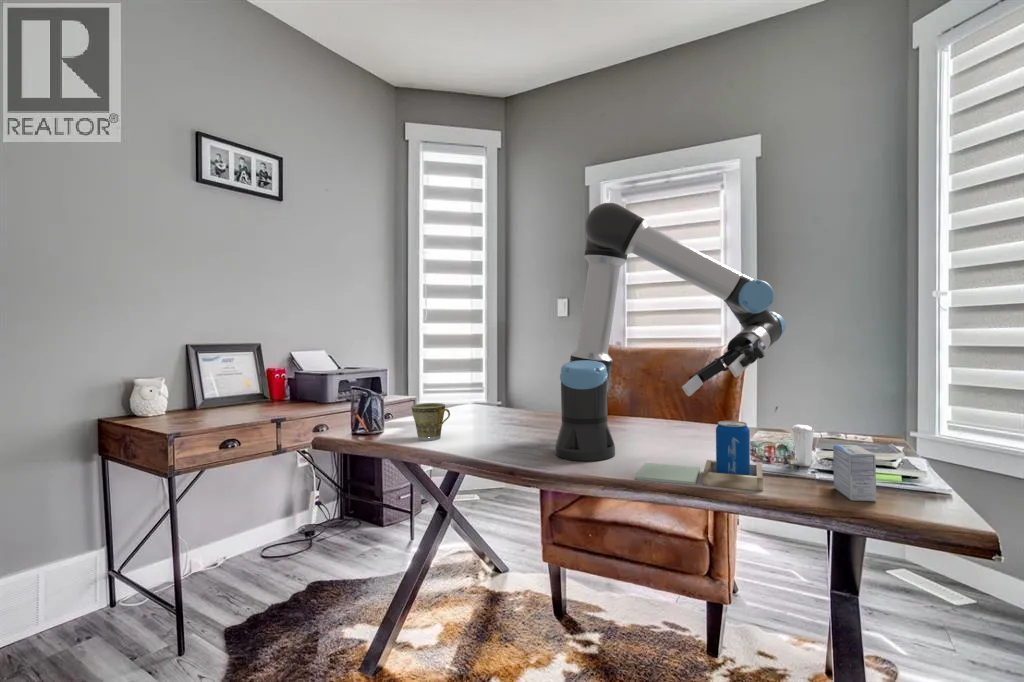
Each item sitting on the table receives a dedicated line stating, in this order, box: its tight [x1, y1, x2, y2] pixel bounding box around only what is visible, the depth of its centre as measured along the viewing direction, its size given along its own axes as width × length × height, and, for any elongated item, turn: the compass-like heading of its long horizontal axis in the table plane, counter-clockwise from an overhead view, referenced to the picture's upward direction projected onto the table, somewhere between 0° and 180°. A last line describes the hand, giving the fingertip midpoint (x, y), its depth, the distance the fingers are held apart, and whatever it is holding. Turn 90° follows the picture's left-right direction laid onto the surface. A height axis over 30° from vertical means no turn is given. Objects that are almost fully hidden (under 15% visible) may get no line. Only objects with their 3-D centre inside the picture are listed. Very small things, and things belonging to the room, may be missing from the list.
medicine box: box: [832, 444, 877, 503], centre depth 101 cm, size 8×4×9 cm, turn 168°
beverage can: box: [715, 420, 751, 476], centre depth 111 cm, size 6×6×12 cm
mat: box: [635, 462, 701, 486], centre depth 117 cm, size 12×12×1 cm
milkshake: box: [790, 422, 817, 467], centre depth 122 cm, size 4×5×10 cm
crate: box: [702, 459, 764, 492], centre depth 111 cm, size 11×11×2 cm
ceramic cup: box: [411, 402, 451, 442], centre depth 159 cm, size 13×10×10 cm
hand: (708, 381), depth 120 cm, fingers open, 13 cm apart
